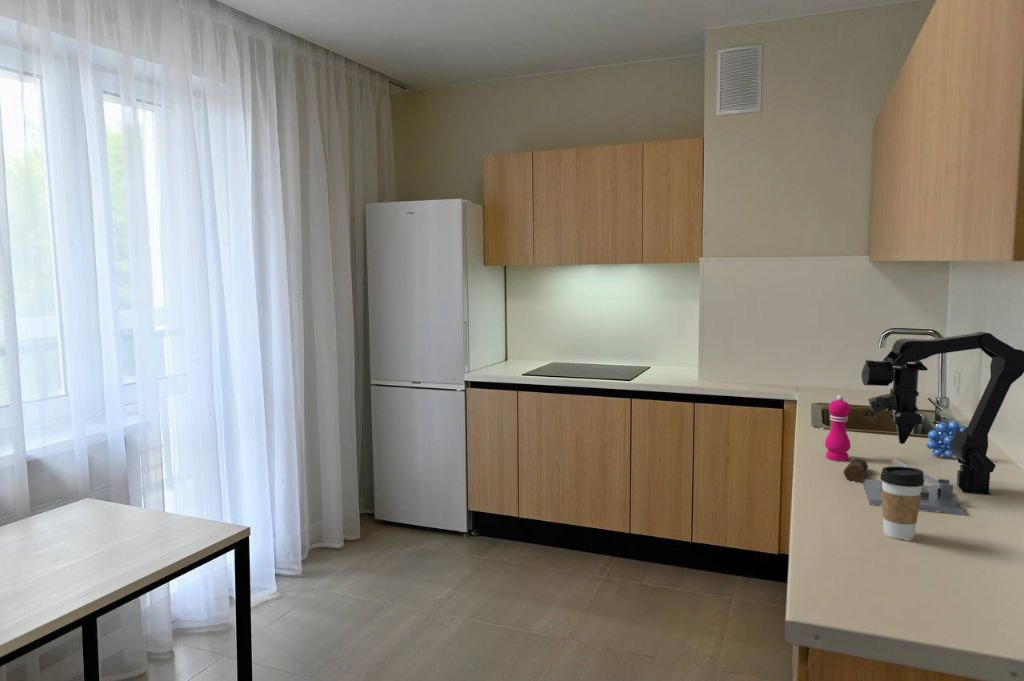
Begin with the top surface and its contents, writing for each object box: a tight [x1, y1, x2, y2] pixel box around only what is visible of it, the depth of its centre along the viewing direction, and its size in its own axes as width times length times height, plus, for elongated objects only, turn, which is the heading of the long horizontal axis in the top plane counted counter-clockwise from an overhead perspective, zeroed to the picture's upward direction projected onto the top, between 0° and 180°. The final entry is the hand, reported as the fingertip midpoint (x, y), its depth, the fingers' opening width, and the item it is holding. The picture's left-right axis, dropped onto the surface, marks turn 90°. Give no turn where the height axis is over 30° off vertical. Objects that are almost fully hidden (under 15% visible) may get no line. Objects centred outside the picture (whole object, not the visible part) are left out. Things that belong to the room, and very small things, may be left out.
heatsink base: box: [862, 478, 964, 516], centre depth 179 cm, size 20×18×5 cm
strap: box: [892, 458, 943, 489], centre depth 179 cm, size 14×3×1 cm, turn 68°
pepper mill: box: [824, 394, 851, 462], centre depth 216 cm, size 7×7×20 cm
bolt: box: [842, 457, 869, 483], centre depth 200 cm, size 6×5×15 cm
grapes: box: [925, 420, 968, 459], centre depth 218 cm, size 12×7×12 cm, turn 66°
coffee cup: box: [879, 466, 925, 540], centre depth 154 cm, size 8×8×15 cm
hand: (901, 443), depth 188 cm, fingers closed
